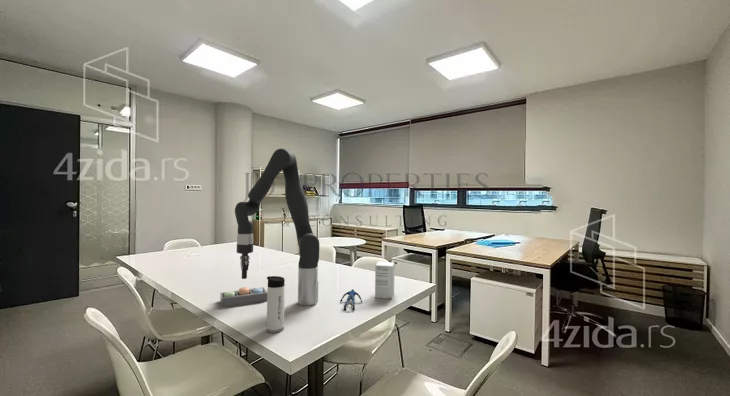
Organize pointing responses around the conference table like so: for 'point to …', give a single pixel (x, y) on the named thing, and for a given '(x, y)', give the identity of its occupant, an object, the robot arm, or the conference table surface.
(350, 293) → the person figurine
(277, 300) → the travel mug
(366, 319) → the conference table surface
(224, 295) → the sage button
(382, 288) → the supplement box
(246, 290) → the orange button
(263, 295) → the tray
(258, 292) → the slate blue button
